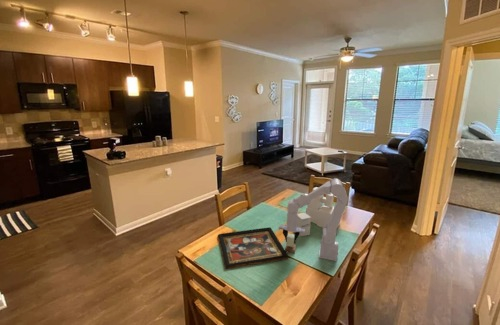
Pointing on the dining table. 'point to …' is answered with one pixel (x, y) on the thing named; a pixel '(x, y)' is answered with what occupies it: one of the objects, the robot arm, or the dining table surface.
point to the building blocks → (320, 209)
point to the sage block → (290, 240)
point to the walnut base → (290, 249)
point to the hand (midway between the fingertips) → (290, 242)
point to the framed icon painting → (250, 247)
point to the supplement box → (304, 223)
